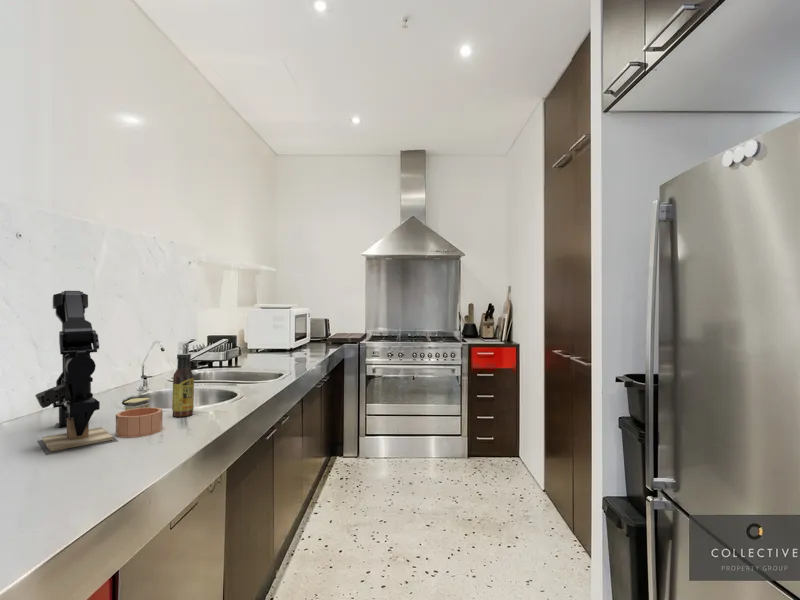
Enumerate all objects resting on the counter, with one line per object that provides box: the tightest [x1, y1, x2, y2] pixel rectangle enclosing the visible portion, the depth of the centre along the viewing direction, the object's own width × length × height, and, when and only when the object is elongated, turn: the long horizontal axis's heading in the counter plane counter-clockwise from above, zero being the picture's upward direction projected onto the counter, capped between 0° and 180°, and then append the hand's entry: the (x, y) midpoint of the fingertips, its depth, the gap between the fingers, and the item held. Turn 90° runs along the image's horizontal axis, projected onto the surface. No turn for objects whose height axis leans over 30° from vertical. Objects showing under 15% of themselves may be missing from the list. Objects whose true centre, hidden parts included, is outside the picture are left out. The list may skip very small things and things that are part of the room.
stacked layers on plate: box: [123, 397, 151, 411], centre depth 145 cm, size 10×9×6 cm
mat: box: [36, 430, 119, 456], centre depth 117 cm, size 16×15×1 cm
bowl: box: [115, 406, 163, 438], centre depth 126 cm, size 11×11×6 cm
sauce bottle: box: [171, 353, 195, 418], centre depth 146 cm, size 6×6×20 cm
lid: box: [41, 417, 114, 452], centre depth 117 cm, size 13×13×6 cm
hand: (77, 433), depth 117 cm, fingers closed on lid, 4 cm apart
